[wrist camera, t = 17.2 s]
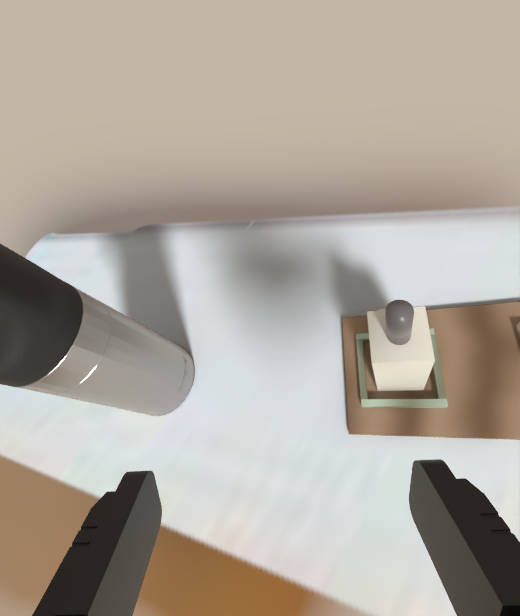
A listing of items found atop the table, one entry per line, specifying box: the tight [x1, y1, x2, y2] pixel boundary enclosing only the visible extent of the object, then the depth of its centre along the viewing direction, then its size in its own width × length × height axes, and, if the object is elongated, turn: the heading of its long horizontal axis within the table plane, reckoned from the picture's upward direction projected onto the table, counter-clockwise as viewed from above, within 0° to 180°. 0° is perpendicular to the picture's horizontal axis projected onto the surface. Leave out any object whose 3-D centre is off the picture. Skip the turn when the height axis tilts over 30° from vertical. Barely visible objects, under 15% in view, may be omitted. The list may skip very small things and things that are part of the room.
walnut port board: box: [342, 302, 520, 440], centre depth 29 cm, size 24×12×2 cm, turn 87°
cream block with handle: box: [367, 300, 435, 391], centre depth 25 cm, size 4×5×14 cm
